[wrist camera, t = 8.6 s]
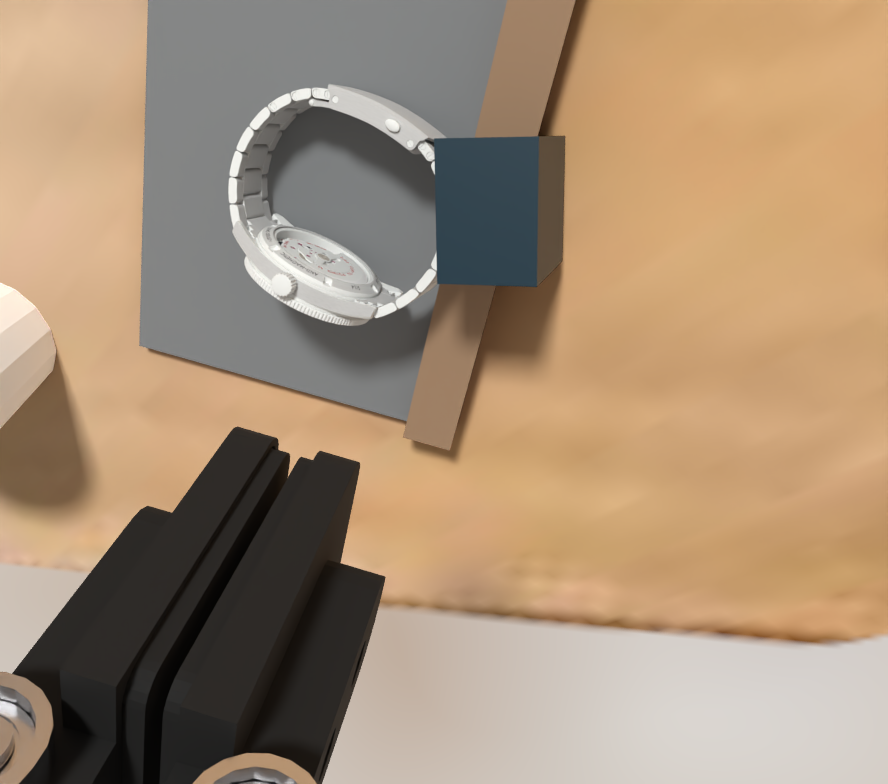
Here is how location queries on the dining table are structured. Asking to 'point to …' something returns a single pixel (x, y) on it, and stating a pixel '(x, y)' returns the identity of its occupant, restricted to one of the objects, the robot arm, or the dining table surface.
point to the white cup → (22, 351)
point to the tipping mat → (328, 182)
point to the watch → (456, 200)
